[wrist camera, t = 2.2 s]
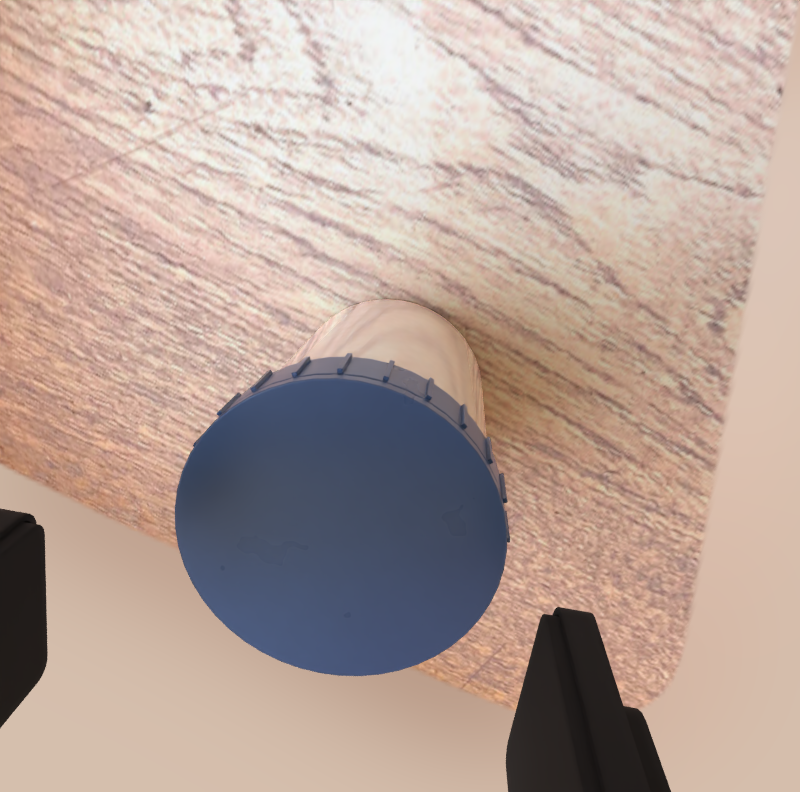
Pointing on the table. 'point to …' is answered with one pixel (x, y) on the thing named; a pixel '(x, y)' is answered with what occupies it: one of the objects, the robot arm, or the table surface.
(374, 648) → the lid
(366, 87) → the table surface
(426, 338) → the jar
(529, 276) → the table surface
